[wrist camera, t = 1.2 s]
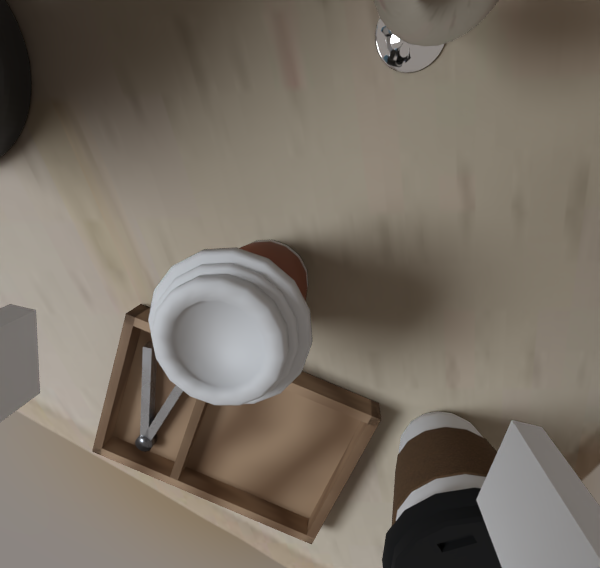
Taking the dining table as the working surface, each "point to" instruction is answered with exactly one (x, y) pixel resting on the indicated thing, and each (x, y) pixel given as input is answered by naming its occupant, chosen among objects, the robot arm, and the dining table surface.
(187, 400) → the walnut caddy
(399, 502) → the coffee cup
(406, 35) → the wineglass
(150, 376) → the steel tongs
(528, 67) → the dining table surface
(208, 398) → the coffee cup
